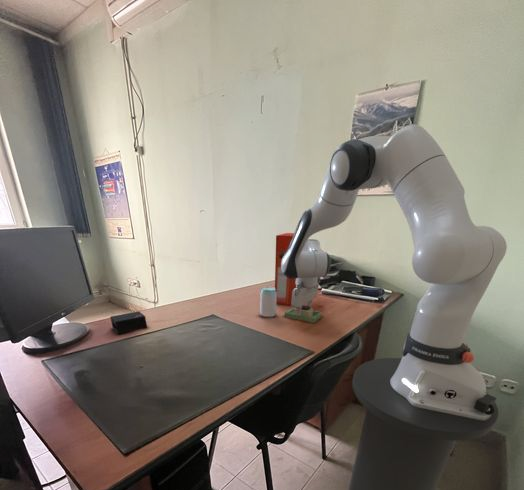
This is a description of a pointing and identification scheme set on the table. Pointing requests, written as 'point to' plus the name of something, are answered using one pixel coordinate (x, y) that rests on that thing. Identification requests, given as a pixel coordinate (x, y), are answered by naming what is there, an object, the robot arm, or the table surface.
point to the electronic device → (128, 322)
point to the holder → (311, 319)
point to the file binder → (282, 283)
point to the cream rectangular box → (305, 311)
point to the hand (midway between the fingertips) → (303, 312)
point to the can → (268, 302)
